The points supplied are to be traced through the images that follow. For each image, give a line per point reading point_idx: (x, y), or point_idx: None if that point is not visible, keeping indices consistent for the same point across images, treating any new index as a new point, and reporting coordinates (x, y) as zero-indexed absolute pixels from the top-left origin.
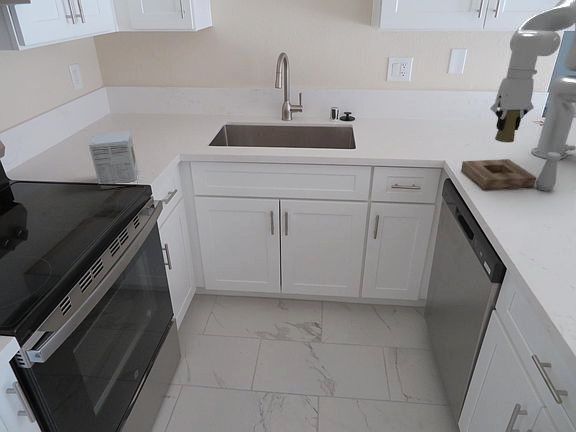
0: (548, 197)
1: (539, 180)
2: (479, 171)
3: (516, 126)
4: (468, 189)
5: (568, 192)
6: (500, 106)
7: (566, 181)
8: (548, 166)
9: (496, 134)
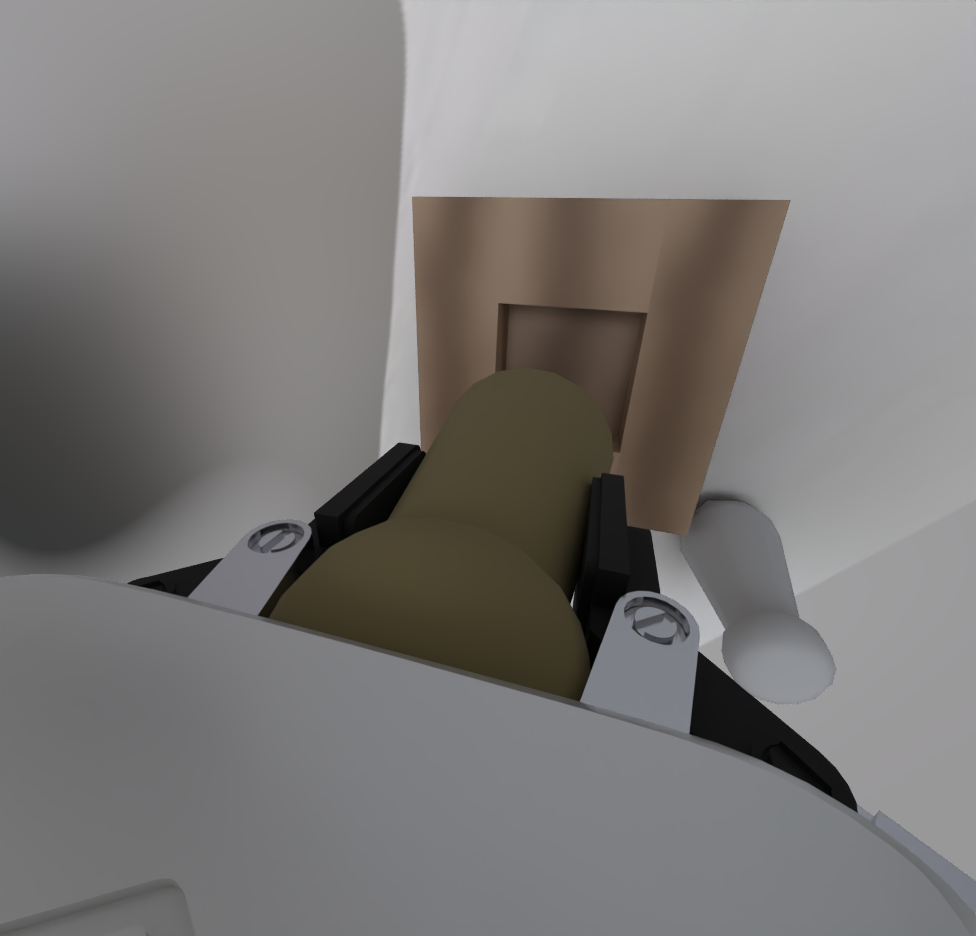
0: (662, 585)
1: (686, 547)
2: (439, 392)
3: (574, 595)
4: (389, 441)
5: (802, 580)
6: (133, 604)
7: (956, 484)
8: (721, 619)
9: (446, 419)
